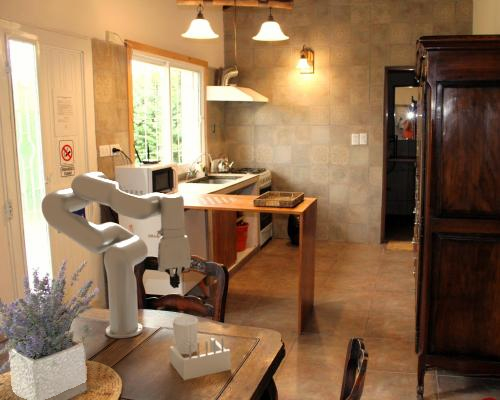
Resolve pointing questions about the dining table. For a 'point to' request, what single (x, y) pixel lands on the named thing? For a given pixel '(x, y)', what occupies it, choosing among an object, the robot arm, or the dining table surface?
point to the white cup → (185, 334)
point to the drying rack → (201, 360)
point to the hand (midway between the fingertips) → (175, 286)
